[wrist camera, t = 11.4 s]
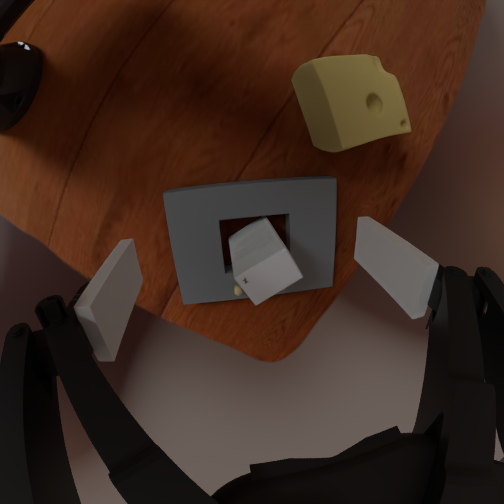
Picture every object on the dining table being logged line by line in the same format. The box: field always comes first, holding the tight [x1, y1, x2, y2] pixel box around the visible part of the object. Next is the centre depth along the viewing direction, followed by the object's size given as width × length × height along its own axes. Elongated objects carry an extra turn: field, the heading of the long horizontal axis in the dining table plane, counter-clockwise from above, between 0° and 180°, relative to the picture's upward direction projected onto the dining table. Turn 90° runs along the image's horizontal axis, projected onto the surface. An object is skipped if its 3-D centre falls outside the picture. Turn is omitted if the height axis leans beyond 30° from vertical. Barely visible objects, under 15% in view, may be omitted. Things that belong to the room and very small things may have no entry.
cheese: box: [291, 55, 411, 152], centre depth 28 cm, size 10×11×10 cm
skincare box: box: [228, 216, 303, 305], centre depth 33 cm, size 6×4×12 cm
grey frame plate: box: [163, 176, 337, 304], centre depth 37 cm, size 22×16×4 cm
